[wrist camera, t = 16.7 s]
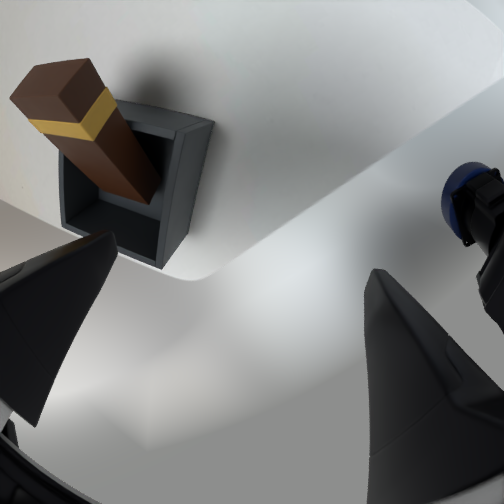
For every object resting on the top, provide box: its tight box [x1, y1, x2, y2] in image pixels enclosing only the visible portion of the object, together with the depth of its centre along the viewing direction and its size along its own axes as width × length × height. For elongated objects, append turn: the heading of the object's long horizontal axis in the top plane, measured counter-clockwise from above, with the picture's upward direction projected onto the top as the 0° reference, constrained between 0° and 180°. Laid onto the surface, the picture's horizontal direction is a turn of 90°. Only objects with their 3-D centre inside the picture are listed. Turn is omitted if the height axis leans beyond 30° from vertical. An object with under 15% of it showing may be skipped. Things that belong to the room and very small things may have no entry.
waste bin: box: [59, 99, 214, 269], centre depth 19 cm, size 10×10×6 cm
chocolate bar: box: [10, 58, 161, 205], centre depth 15 cm, size 5×2×13 cm
